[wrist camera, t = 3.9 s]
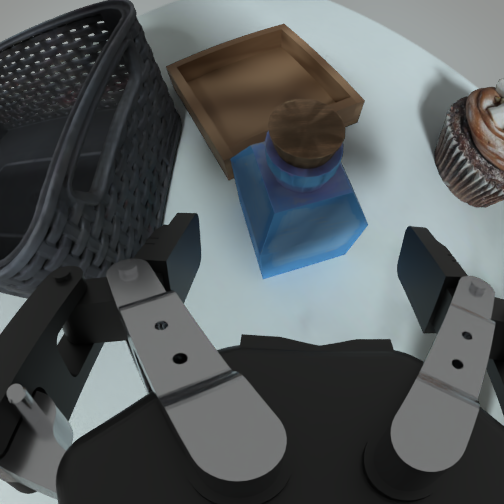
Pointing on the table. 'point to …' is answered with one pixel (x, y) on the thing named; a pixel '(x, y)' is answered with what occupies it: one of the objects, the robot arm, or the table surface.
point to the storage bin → (81, 146)
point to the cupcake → (474, 147)
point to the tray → (255, 88)
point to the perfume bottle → (298, 189)
